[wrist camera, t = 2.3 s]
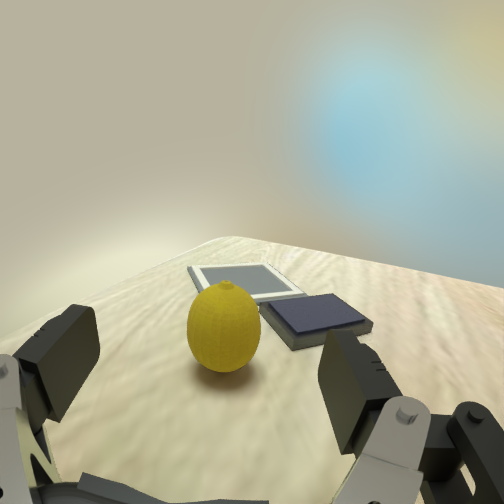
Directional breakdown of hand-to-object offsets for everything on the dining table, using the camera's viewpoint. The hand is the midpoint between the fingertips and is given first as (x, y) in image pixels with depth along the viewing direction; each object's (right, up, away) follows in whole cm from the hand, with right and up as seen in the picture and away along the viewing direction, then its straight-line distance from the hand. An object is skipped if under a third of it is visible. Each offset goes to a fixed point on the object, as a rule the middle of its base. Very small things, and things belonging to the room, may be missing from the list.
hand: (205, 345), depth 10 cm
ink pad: (+8, -5, +23) cm, 25 cm away
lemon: (-1, -7, +14) cm, 16 cm away
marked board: (0, -1, +32) cm, 32 cm away
